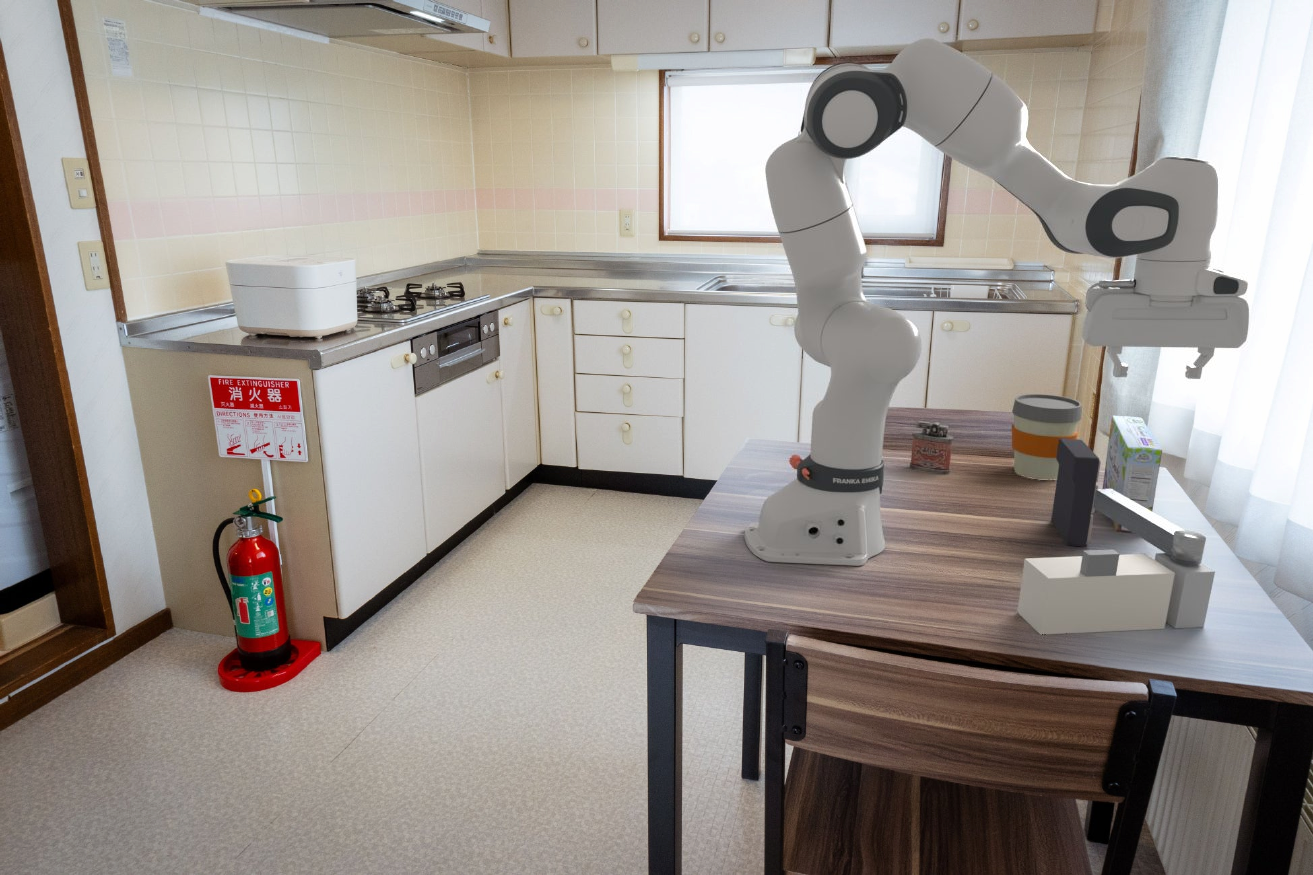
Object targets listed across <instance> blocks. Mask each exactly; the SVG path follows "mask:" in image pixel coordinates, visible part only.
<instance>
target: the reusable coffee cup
mask: <svg viewBox="0 0 1313 875" xmlns="http://www.w3.org/2000/svg"><path fill="white" fill-rule="evenodd" d="M1014 398H1015V399H1014V402H1013V406H1012V411H1011V412H1012V414H1013V423H1012V425H1011V448H1012V449H1013V450H1014V451H1013V452H1014V453H1013V456H1014V462H1013V463H1014V470H1015V471H1014V473H1015V472H1016V473H1019V474H1020V475H1024V476H1026V477H1032V478H1035V479H1048V480H1050V479H1052V480H1053V479H1057V476H1058V469H1059V463H1058V461H1057V460H1056V456H1057V449H1058V442H1059V439H1060V438H1061V439H1078V438H1077V437H1078V433H1079V432H1078V430H1077V429H1078V426H1079V422H1080V421H1081V420H1082V414H1083V412H1082V408H1083V406H1082V405H1083V403H1082V402H1080V401H1079V400H1077V399H1075V398H1070V397H1066V396H1061V395H1056V394H1047V393H1046V394H1045V393H1029V394H1028V393H1027V394H1020V395H1018V396H1016V397H1014ZM1016 473H1015V474H1016ZM1020 475H1019V476H1020Z"/></svg>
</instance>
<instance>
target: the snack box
mask: <svg viewBox="0 0 1313 875" xmlns="http://www.w3.org/2000/svg"><path fill="white" fill-rule="evenodd" d="M1108 435H1109V436H1108V443H1107V450H1106V451H1107V452H1106V459H1105V468H1104V475H1103V483H1102V489H1113V490H1115V491H1116V492H1118V493H1120V494H1122V495H1123V496H1125V497H1127V498H1129V499H1130V500H1132V501H1134V502H1136V503H1137V504H1139V505H1141V506H1143V507H1145V508H1146V509H1148V510H1150V511H1152V512H1153V511H1154V504H1155V497H1156V491H1157V484H1158V477H1159V473H1160V467H1161V466H1160V465H1161V462H1162V461H1161V460H1162V455H1163V450H1162V448H1161V446H1160V445H1159V443H1158V442H1157V440H1156V438H1155V437H1154V434H1152V432H1151V431H1150V429H1149V427H1148V426H1147V425H1146V423H1145V420H1144V419H1143V418H1142V417H1141V416H1140V417H1138V416H1126V415H1123V416H1122V415H1111V420H1110V428H1109V434H1108ZM1111 521H1112V523H1113V526H1114V529H1115V531H1116V532H1126V533H1132V532H1131V531H1129V530H1128V529H1126V528H1125V527H1123V526H1122V525H1120V524H1118V523H1117V522H1115V521H1114V520H1112V519H1111Z"/></svg>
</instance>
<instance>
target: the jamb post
mask: <svg viewBox="0 0 1313 875" xmlns="http://www.w3.org/2000/svg"><path fill="white" fill-rule="evenodd" d="M1154 560H1155V561H1157V562H1159V563H1160V564H1162V565H1163V566H1165V567H1166V568H1168V569H1169V570H1171V571H1172V572H1174V573H1175V576H1174V581H1173V586H1172V591H1171V597H1170V602H1169V607H1168V612H1167V618H1166V623H1167V624H1168V625H1170V626H1171V627H1172V628H1174V629H1187V628H1188V629H1193V628H1204V627H1205V623H1206V622H1205V621H1206V618H1207V614H1208V612H1207V611H1208V608H1209V604H1210V597H1211V595H1212V594H1211V593H1212V588H1213V583H1214V578H1215V575H1216V571H1215V570H1213V569H1211V567H1208V566H1207V565H1205V564H1203V563H1202V562H1201V564H1199V565H1185V564H1181V563H1178V562H1175V561H1173V560H1172V559H1171V558H1170V556H1169V555H1168V554H1166V553H1165V552H1160V553H1157V552H1156V553H1155V556H1154Z"/></svg>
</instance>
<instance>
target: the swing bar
mask: <svg viewBox="0 0 1313 875" xmlns="http://www.w3.org/2000/svg"><path fill="white" fill-rule="evenodd" d="M1093 508H1094V509H1095V510H1096V511H1098V512H1099V513H1100V514H1102V515H1104V516H1106V517H1107V518H1108V519H1110V520H1111V521H1112V520H1114V521H1115V522H1117V523H1118V524H1120V525H1122V526H1123V527H1125V528H1126V529H1128V530H1129V531H1131V532H1130V533H1133V534H1134V535H1136V536H1137V537H1139V538H1141V539H1143V540H1144V541H1145V542H1147V543H1149V544H1150V545H1152V546H1153V547H1155V548H1157V549H1158V550H1160V551H1162V553H1166V554H1168V555H1169V556H1170V558H1171V559H1172V560H1173V561H1175V562H1178V563H1181V564H1185V565H1199V564H1201V563H1202V561H1203V556H1204V550H1205V545H1206V541H1207V538H1206V536H1205V535H1204V534H1201V533H1199V532H1195V531H1191V530H1185V529H1183V528H1181V527H1179V526H1178V525H1176V524H1174V523H1172V522H1170V520H1167V519H1165V518H1164V517H1162V516H1160V515H1158V514H1157V513H1155V512H1153V511H1150V510H1148V509H1146V508H1145V507H1143V506H1141V505H1139V504H1137V503H1136V502H1134V501H1132V500H1130V499H1129V498H1127V497H1125V496H1123V495H1122V494H1120V493H1118V492H1116V491H1115V490H1113V489H1103V488H1098V489H1096V492H1095V498H1094V505H1093Z"/></svg>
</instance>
